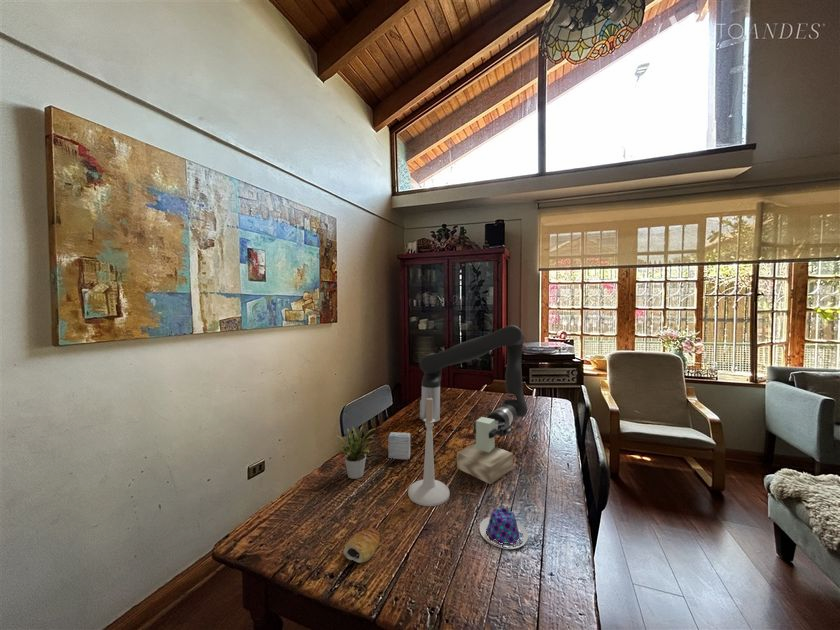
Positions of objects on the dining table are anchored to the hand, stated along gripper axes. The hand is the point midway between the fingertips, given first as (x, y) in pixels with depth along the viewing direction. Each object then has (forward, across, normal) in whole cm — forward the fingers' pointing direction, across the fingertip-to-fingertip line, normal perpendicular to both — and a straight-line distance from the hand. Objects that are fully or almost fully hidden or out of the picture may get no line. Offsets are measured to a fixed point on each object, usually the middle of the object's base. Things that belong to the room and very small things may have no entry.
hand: (482, 433), depth 111 cm
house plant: (+26, -33, +13) cm, 44 cm away
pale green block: (-3, 0, +6) cm, 7 cm away
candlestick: (+21, -8, +14) cm, 27 cm away
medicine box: (+8, -30, +14) cm, 34 cm away
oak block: (-3, 0, +14) cm, 14 cm away
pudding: (+25, +17, +14) cm, 33 cm away
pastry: (+50, -8, +14) cm, 52 cm away
